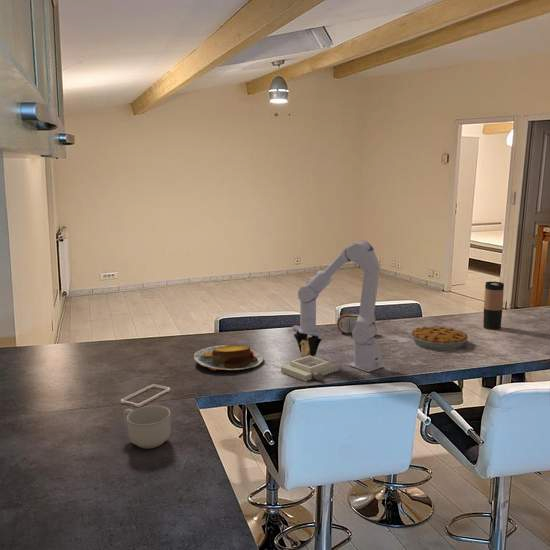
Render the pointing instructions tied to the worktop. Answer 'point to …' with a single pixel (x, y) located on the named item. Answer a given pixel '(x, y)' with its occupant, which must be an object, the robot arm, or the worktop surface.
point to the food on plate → (228, 357)
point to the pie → (439, 338)
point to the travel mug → (493, 305)
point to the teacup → (148, 425)
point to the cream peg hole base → (309, 368)
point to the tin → (347, 322)
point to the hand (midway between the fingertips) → (307, 353)
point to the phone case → (143, 391)
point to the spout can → (305, 348)
